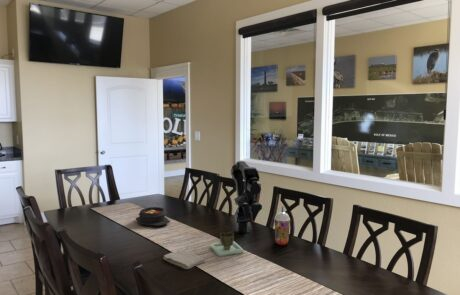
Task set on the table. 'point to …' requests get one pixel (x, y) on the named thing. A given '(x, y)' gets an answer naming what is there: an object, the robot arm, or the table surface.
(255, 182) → the robot arm
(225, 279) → the table surface
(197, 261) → the washcloth
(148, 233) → the table surface
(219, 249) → the tray
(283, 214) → the smoothie
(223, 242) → the cup
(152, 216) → the casserole
